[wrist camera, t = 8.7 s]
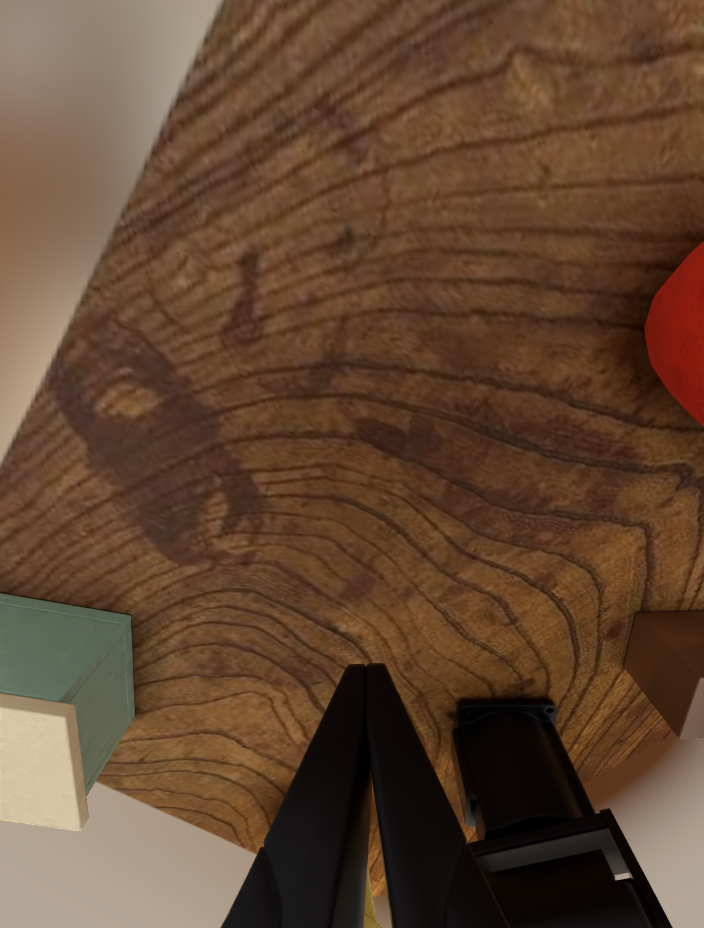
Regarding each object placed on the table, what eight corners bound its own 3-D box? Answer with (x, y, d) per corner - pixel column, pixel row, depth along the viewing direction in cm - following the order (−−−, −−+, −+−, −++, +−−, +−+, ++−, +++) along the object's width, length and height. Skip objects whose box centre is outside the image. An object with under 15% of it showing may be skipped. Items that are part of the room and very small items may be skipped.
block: (712, 609, 21) (796, 675, 17) (694, 664, 23) (767, 737, 19) (635, 612, 22) (699, 678, 17) (622, 666, 23) (678, 738, 19)
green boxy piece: (131, 614, 23) (59, 701, 18) (135, 715, 26) (76, 814, 21) (-19, 589, 23) (-139, 668, 17) (4, 694, 26) (-91, 789, 21)
